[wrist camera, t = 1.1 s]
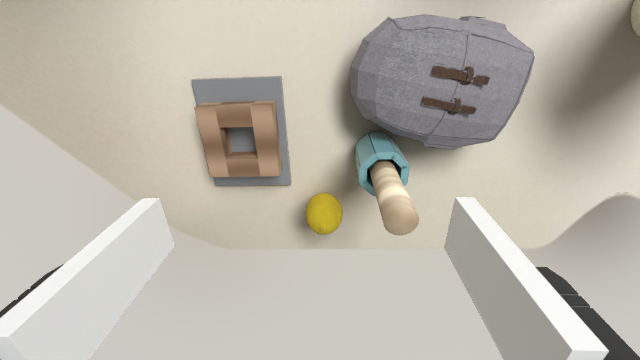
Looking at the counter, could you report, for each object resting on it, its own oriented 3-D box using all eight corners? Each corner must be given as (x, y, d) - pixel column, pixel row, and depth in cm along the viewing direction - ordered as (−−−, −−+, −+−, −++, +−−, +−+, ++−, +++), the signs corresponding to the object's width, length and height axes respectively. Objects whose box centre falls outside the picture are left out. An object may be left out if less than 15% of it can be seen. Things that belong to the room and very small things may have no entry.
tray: (193, 79, 38) (191, 79, 37) (281, 76, 38) (280, 77, 37) (217, 183, 45) (215, 185, 45) (291, 182, 45) (290, 184, 44)
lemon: (305, 185, 45) (300, 213, 38) (340, 183, 45) (341, 211, 37) (309, 214, 48) (305, 245, 40) (342, 212, 47) (344, 243, 40)
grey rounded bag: (523, 31, 34) (363, -3, 33) (576, 29, 27) (372, -14, 26) (471, 145, 41) (337, 120, 40) (501, 170, 34) (338, 139, 33)
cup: (355, 132, 41) (360, 152, 34) (397, 131, 40) (411, 151, 33) (354, 169, 43) (358, 196, 36) (393, 169, 43) (406, 195, 36)
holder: (203, 102, 39) (194, 107, 36) (275, 100, 38) (271, 105, 36) (218, 168, 43) (210, 177, 41) (282, 167, 43) (279, 176, 40)
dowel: (365, 143, 41) (384, 207, 25) (387, 142, 40) (420, 206, 25) (364, 163, 42) (382, 235, 27) (386, 163, 42) (416, 235, 27)
